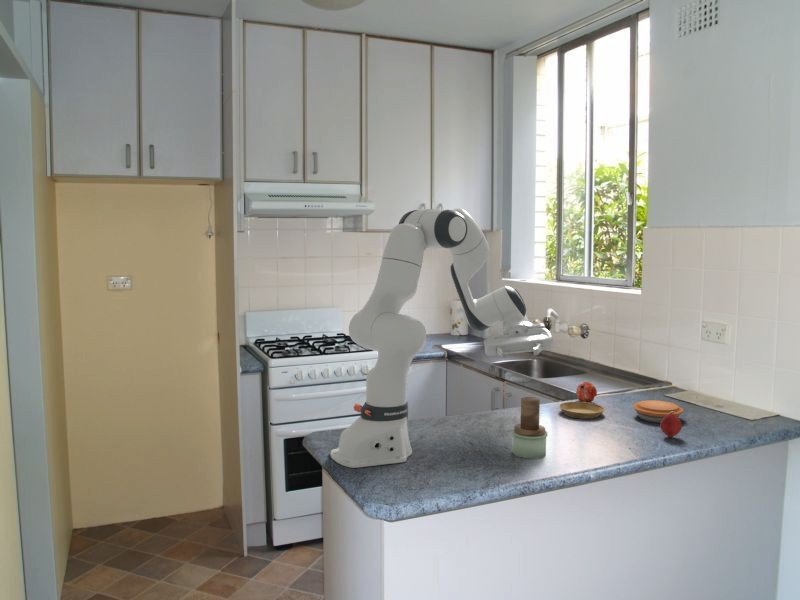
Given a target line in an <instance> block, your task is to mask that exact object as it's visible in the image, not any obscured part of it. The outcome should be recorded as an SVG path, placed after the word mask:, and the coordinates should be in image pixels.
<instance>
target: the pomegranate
mask: <svg viewBox="0 0 800 600" xmlns="http://www.w3.org/2000/svg"><path fill="white" fill-rule="evenodd" d="M597 391H598V390H597V388H596V386H595V385H593V383H592V382H589V381H584V382H582V383H579V384H578V385H577V388H576V391H575V395H576V397H577V399H578V400H579V402H587V403H591V402H592V403H593V401H594V399H595V397H597V396H598V392H597Z"/></svg>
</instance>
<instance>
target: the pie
mask: <svg viewBox="0 0 800 600" xmlns="http://www.w3.org/2000/svg"><path fill="white" fill-rule="evenodd" d="M632 408H633V410H634V411H636V413H637V415H638V418H640V419H641V420H643V421H646V422H650V423H658V424H661V420H662V419H663V418H664V417H665V416H666V415H668V414H669V413H670V412H671V411H674V415H675V416H677V417H678V418H680V415H682V414H683V413H684V408H682V407H680V406H679V405H677V404H675V403H673V402H669V401H663V400H657V399H655V400H654V399H651V400H650V399H648V400H641V401H639V402H635V403H634V404H633V405H632Z"/></svg>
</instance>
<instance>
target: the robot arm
mask: <svg viewBox="0 0 800 600" xmlns="http://www.w3.org/2000/svg"><path fill="white" fill-rule="evenodd" d="M427 249H430V250H431V249H435V250H436V249H449V251H450V253H451V254H452V257H453V258H452V259H453V261H452V263H451V265H450V267H449V268H450V275H451V278H452V281H453V284H454V286H455V289H456V292H457V296H458V298H459V300H460V302H461V303H460V304H461V306H462V308H463V311H464V316H465V320H466V323H467V324H468V326H469V327H470V328H471V329H472V330H475V331H478V332H484V331H486V330H488V329H489V328H491V327H492V326H494V325H497V324H498V323H500V322H501V329H502V330H501V331H502V334H497V335H491V336H487V337H486V338H485V339H484V340H483V346H484V352H485V355H486V356H489V357H490V356H499V357H500V358H501V359H507V355H508V354H509V355H510V354H519V353H530V352H531V353H532V352H533V355H534V356H537V355H540V353H541V352H542V351H549V350H550V351H551V350H553V349H554V341H553V336H552V333H551V332H550V330H548V329H547V328H546V325H545V324H544V323H541V322H540V323H538V322H536V323H535V322H530V321H529V319H528V318H529V317H528V316H527V314H526V313H527V308H526V304H525V302H524V300H523V298H522V296H521V294H520V293H519V291H518V290H517V289H515V288H514V287H512V286H508V285H504V286H502V287H499V288H498V289H496V290H493V291H492V292H490V293H488V294H486V295H484V296H482V297H479V298H474V297H473V294H472V292H471V291H472V290H471V289H470V286H469V283H470V281H471V279H472V278H473V277H474V275H475V274H477V272H479V270H480V269H482V268H483V267H484V265H485V264H486V262H487V260H488V258H489V255H490V245H489V243H488V241H487V238H486V236H485V234H484V233H483V231H482V228H481V227H480V226H479V224H478V223H477V222H476V221H475V219H474V218H473V217H472V216H471V215H470V214H469V213H468V212H467V211H466V210H465V209H463V208H454V209H435V208H428V209H427V208H424V209H414V210H409V211H408V212H406V213H405V214H403V215H402V216H401V218H400V220H399V222H398V224H397V225H395V226H394V227H393V228H392V230H391V232H390V233H389V236H388V239H387V242H386V244H385V246H384V250H383V253H382V257H381V261H380V265H379V271H378V274H377V278H376V282H375V286H374V287H373V290H372V293H370V294H371V295H370V297H369V298H368V300H367V302H366V303H365V305H364V306H363V307H361V308H362V309H360V310H359V311H358V312H357V313H355V314H354V315H353V316H352V317H351V319H350V321H349V325H348V333H349V334H348V335H349V337H350V340H352V341H353V342H354V343H355V344H357V345H358V346H359V347H362V348H364V349H366V350H371V351H376V352H377V360H376V363H375V365H374V366H373V367H372V368H371V369H369V371H368V372H367V374H366V377H365V380H366V382H365V390H366V391H365V392H366V393H365V396H366V397H365V400H366V401H365V402H364V404H363V405H361V404H360V403H354V406H353V411H355V412H357V413H360V415H359V417H358V418H357V419H355V421H353V422H352V423H351V424H350V425H349V426H348V427H347V428H345V429H344V430H343V431H342V432H341V434H340V435H339V441H338V447H337V448H334V449H332V450H330V458H331V459H332V460H333V461H335V462H336V463H337V464H338V465H341V466H343V467H347V468H351V469H355V468H357V469H358V468H364V467H373V466H381V465H390V464H400V463H405V462H407V459H408V458H409V457H410V456H412V454H413V449H412V446H411V442H410V438H409V430H408V429H409V428H408V418H409V404H408V403H409V402H408V401H407V391H408V389H407V386H408V383H407V382H408V376H409V375H408V374H409V370H410V366H411V363H412V361H413V359H415V357H416V355H418V354H419V353H420V352H421V351H422V350H423V348H424V347H425V345H426V341H427V331H426V328H425V325H424V324H423V322H421V321H420V320H419V319H416V318H414V317H412V316H410V315H408V314H401V313H400V311H401V310H402V308H403V307H404V305H405V304H406V303H407V302H409V301H410V300H411V299H413V298H414V296H415V295H416V293H417V289H418V285H419V281H420V275H421V271H422V266H423V261H424V254H425V251H426V250H427Z"/></svg>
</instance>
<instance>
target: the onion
mask: <svg viewBox="0 0 800 600" xmlns="http://www.w3.org/2000/svg"><path fill="white" fill-rule="evenodd" d="M659 425H660V429H661V431H662V433H663V434H665V436H667V437H668V438H670V439H671V438H674V437H675V436H677V435H678V434H680V432H681V430H682V428H683V426H682V421H681V419H680V417H677V416H675V415H674V411H671V412H670V413H669V414H668V415H666V416H665V417H664V418H663V419H662V420H661V423H659Z"/></svg>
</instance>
